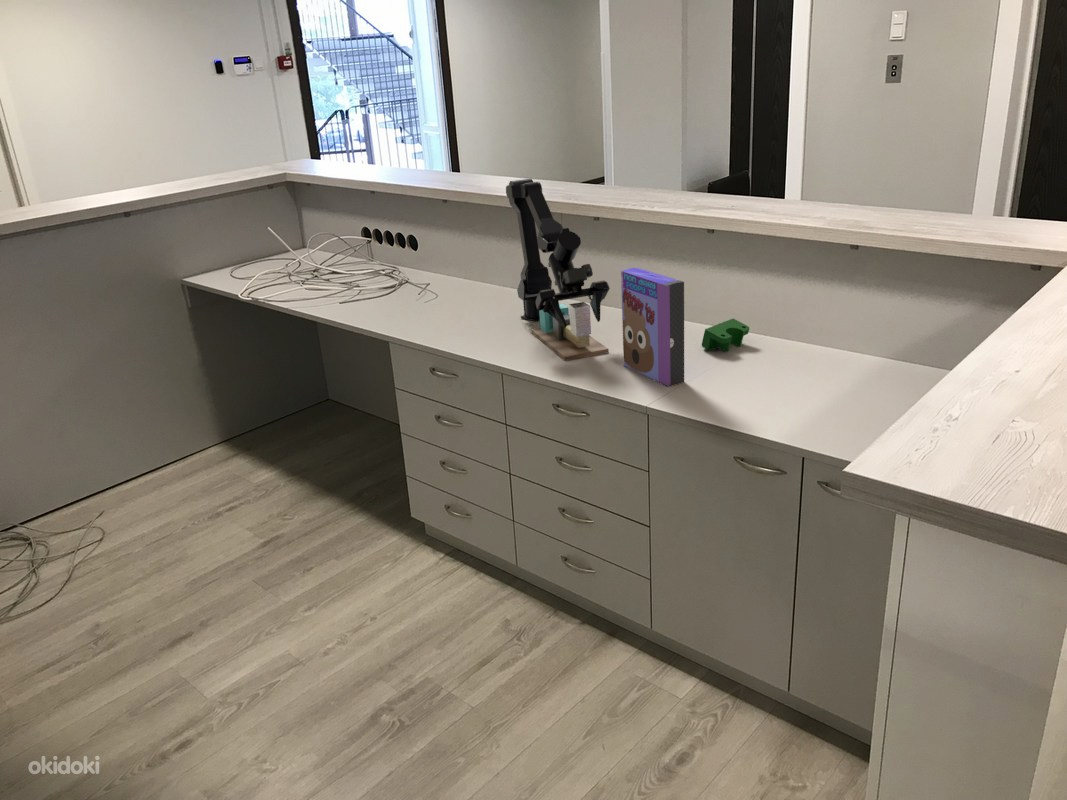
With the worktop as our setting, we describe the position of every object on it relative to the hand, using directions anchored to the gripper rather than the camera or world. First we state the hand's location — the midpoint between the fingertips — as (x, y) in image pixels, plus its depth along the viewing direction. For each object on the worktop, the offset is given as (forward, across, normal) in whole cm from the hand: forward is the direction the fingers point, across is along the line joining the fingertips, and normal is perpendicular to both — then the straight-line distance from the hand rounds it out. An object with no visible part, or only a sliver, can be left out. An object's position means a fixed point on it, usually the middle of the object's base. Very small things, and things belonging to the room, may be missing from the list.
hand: (582, 323), depth 221 cm
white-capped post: (-1, 0, +9) cm, 9 cm away
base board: (-2, 0, +14) cm, 14 cm away
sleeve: (-4, 0, +14) cm, 14 cm away
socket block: (-9, 0, +20) cm, 22 cm away
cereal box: (+21, +9, -9) cm, 24 cm away
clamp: (+16, +33, -4) cm, 37 cm away
